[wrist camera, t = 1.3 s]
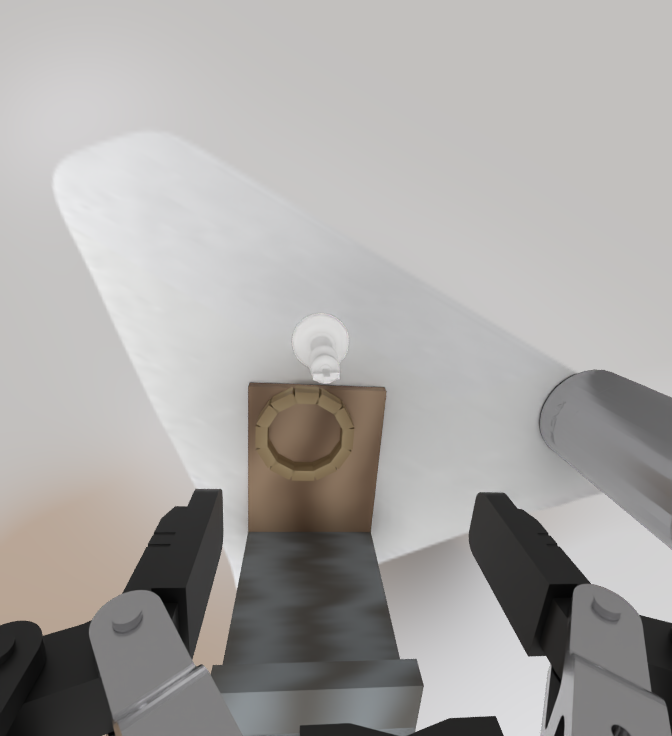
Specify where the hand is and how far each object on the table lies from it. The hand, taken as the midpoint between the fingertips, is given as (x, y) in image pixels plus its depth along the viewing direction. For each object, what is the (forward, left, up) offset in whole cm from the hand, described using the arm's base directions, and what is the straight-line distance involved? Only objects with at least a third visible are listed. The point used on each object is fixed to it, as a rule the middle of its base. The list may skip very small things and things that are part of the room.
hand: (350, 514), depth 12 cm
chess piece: (0, 0, -23) cm, 23 cm away
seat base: (0, +12, -23) cm, 25 cm away
